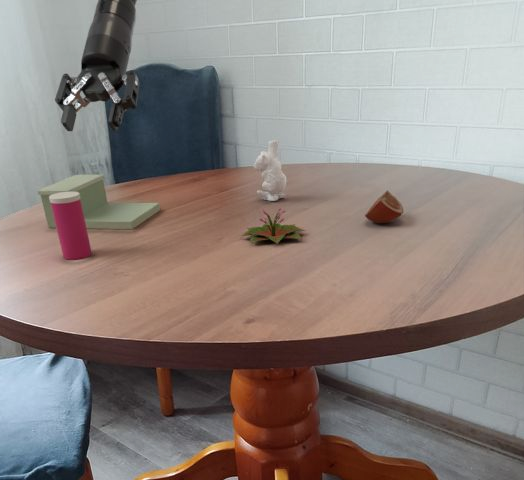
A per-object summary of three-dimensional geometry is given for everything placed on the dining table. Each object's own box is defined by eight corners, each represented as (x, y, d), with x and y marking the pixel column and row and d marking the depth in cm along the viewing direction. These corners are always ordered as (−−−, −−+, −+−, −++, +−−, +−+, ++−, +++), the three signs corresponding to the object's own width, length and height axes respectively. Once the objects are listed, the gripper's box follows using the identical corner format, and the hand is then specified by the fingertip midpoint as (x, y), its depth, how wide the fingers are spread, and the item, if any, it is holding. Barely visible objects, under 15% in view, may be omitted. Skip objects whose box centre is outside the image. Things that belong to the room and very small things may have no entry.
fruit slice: (369, 215, 103) (371, 188, 101) (405, 216, 101) (408, 189, 98) (360, 227, 96) (361, 199, 94) (398, 229, 94) (401, 201, 92)
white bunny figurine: (265, 194, 122) (263, 137, 116) (293, 195, 120) (292, 138, 114) (251, 203, 115) (247, 144, 110) (280, 205, 113) (278, 144, 107)
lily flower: (240, 250, 89) (238, 222, 86) (237, 229, 99) (236, 204, 97) (313, 245, 89) (313, 217, 87) (302, 224, 100) (302, 199, 97)
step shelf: (131, 229, 102) (125, 190, 99) (46, 228, 106) (36, 190, 103) (160, 209, 115) (156, 174, 111) (83, 208, 119) (76, 174, 115)
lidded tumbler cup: (72, 261, 88) (58, 200, 83) (58, 256, 91) (43, 196, 86) (97, 253, 91) (85, 193, 86) (82, 248, 94) (69, 190, 89)
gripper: (60, 34, 94) (39, 114, 90) (136, 29, 91) (118, 111, 86) (82, 67, 101) (64, 142, 97) (153, 63, 98) (137, 141, 94)
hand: (89, 127), depth 92 cm, fingers open, 8 cm apart
